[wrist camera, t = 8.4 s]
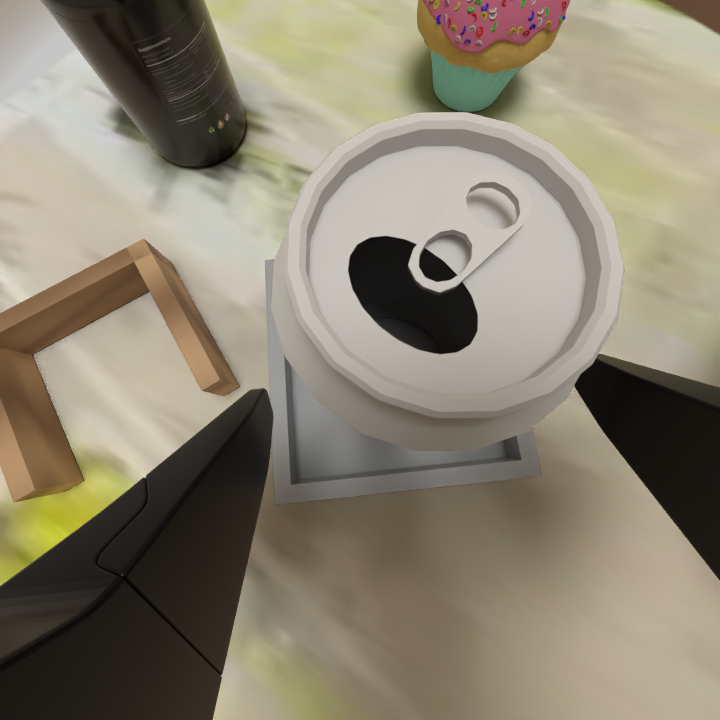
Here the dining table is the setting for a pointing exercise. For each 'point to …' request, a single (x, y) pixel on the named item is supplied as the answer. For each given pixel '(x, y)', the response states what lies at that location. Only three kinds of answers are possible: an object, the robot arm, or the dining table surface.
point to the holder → (64, 316)
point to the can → (445, 281)
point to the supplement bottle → (161, 72)
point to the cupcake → (484, 44)
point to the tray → (364, 446)
